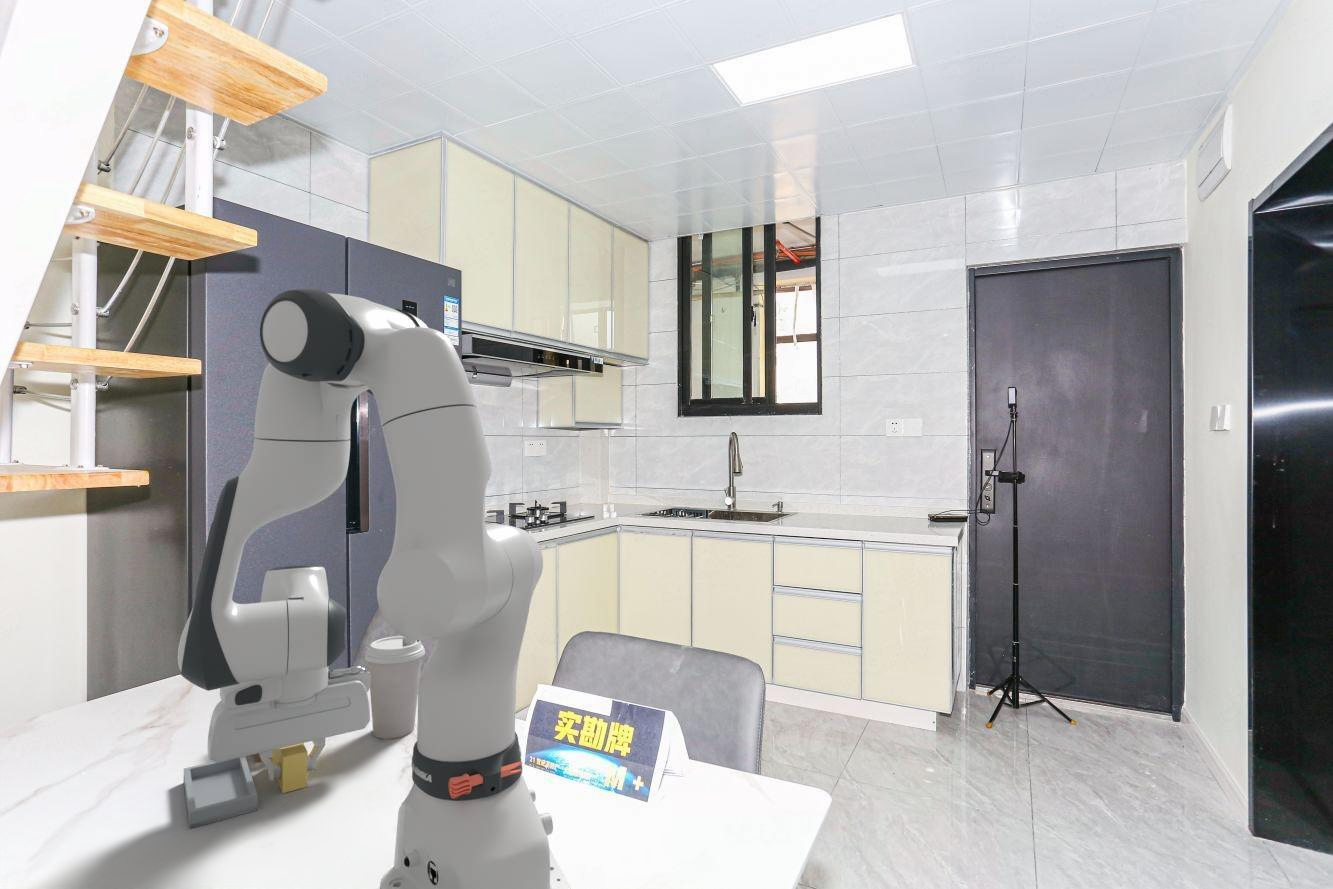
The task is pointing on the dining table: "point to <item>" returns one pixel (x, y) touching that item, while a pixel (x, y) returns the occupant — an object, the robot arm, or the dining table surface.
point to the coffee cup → (394, 684)
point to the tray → (219, 791)
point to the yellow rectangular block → (292, 767)
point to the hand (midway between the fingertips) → (292, 774)
